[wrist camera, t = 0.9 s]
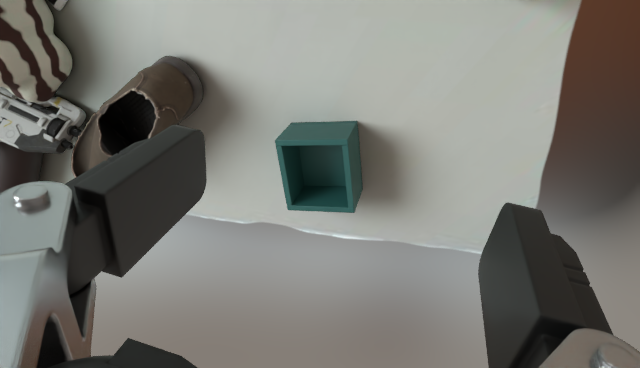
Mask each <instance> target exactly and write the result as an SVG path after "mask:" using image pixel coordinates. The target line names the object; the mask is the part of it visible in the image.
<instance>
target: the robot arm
mask: <svg viewBox="0 0 640 368" xmlns="http://www.w3.org/2000/svg"><path fill="white" fill-rule="evenodd" d="M205 186H206V161H205V140H204V135H203V133H202V132H201V131H200V130H196V129H192V128H187V127H183V126H179V125H171V126H170V127H168V128H166V129H165V130H163V131H161V132H160V133H158V134H157V135H155V136H153V137H152V138H149V139H145V140H142V141H139V142H135V143H133V144H131V145H130V146H128V147H126V148H125V149H123V150H121V151H120V152H119V154H117V153H116V154H115V155H113V156H111V157H109V158H108V159H107V161H103V162H101V163H99V164H98V165H96V166H94V167H93V168H91V169H89V170H88V171H86V172H84V173H83V174H81V175H79V176H78V177H76V178H74V179H73V180H71V181H69V182H68V183H66V184H63V183H59V182H54V181H37V182H30V183H25V184H21V185H18V186H15V187H12V188H10V189H7V190H5V191H4V192H2V193H0V368H197V367H196V366H194V365H193V364H192V363H190V362H189V361H187V360H186V359H184V358H183V357H182V356H179V355H177V354H174V353H171V352H167V351H165V350H162V349H159V348H156V347H153V346H150V345H147V344H144V343H141V342H138V341H135V340H132V339H129V338H128V339H127V340H126V341H125V342H124V344H123V345H122V346H121V347H120V349H119V350H118V351H117V352H116V353H115V354H114V356H110V355H109V356H93V357H91V340H92V329H93V318H94V307H95V296H96V283H95V279H94V278H95V276H97V275H98V274H99V273H100V272H101V271H103V272H106V273H109V274H112V275H115V276H119V277H123V276H124V275H125V274H126V273H127V272H128V271H129V270H130V269H131V268H132V267H133V266H134V265H135V264H136V263H137V262H138V261H139V260H140V259H141V258H142V257H143V256H144V255H145V254H146V253H147V252H148V251H149V250H150V249H151V248H152V247H153V246H154V245H155V244H156V243H157V242H158V241H159V240H160V239H161V238H162V237H163V236H164V235H165V234H166V233H167V232H168V231H169V230H170V229H171V228H172V227H173V226H174V225H175V224H176V223H177V222H178V221H179V220H180V219H181V218H182V217H183V216H184V215H185V214H186V213H187V212H188V211H189V210H190V209H191V208H192V207H193V206H194V205H195V204H196V203H197V202H198V201H199V200H200V199H201V197H202V195H203V193H204V190H205ZM478 275H479V283H480V293H481V302H482V310H483V320H484V329H485V337H486V347H487V356H488V364H489V368H640V352H639V351H638V350H637V349H635V348H634V347H632V346H631V345H630V344H628V343H626V342H625V341H623V340H621V339H619V338H617V337H615V336H614V335H613V333H612V331H611V329H610V327H609V325H608V322H607V320H606V318H605V315H604V313H603V311H602V309H601V307H600V304H599V302H598V300H597V298H596V296H595V293H594V291H593V289H592V287H590V286H589V284H590V282H589V280H588V278H587V276H586V274H585V272H583V267H582V265H581V263H580V261H579V258H578V256H577V254H576V252H575V251H574V250H573V249H572V248H571V247H570V246H569V245H568V244H567V243H566V242H565V241H564V240H563V239H562V238H561V237H560V236H558V235H554V234H551V233H550V231H549V228H548V226H547V223H546V221H545V218H544V216H543V213H542V211H541V210H538V209H534V208H529V207H525V206H521V205H516V204H512V203H506V204H505V205H504V206H503V207H502V209H501V211H500V213H499V215H498V218H497V220H496V222H495V225H494V227H493V229H492V231H491V234H490V236H489V238H488V241H487V243H486V245H485V247H484V250H483V252H482V255H481V259H480V263H479V273H478Z"/></svg>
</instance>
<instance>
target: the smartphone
mask: <svg viewBox="0 0 640 368" xmlns="http://www.w3.org/2000/svg"><path fill="white" fill-rule="evenodd" d="M48 1H49V2H50V3H51V4H52V5H53V6H54V7H55V9H57V10H62V8H63V7H64V5H65V4H66V3H67V1H68V0H48Z"/></svg>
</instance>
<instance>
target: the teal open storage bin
mask: <svg viewBox="0 0 640 368" xmlns="http://www.w3.org/2000/svg"><path fill="white" fill-rule="evenodd" d="M275 143H276V149H277V154H278V160H279V165H280V170H281V176H282V181H283V187H284V192H285V198H286V203H287V208H288V210H300V211H324V212H348V213H354V212H355V209H356V207H357V204H358V201H359V198H360V195H361V192H362V190H363V186H362V173H361V161H360V148H359V135H358V123H357V121H343V122H305V123H291V124H290V125H289V126H288V127H287V128H286V129H285V130H284V131H283V132H282V133H281V135H280V136H279V137H278V138H277V139H276V140H275Z"/></svg>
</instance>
